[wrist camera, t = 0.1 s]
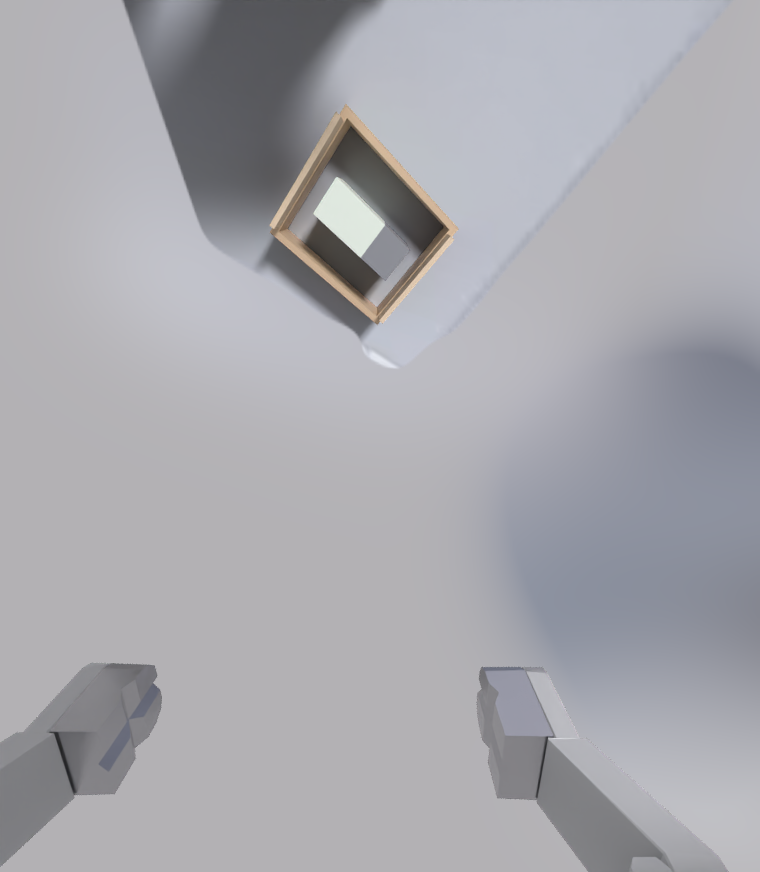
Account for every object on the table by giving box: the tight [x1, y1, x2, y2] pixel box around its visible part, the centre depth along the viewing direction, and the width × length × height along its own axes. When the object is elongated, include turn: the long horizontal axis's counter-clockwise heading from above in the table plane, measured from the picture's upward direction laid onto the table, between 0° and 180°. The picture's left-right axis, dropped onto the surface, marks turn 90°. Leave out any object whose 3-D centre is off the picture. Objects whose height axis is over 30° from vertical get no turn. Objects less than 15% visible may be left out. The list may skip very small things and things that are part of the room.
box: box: [313, 177, 410, 281], centre depth 45 cm, size 4×11×8 cm, turn 49°
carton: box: [270, 104, 458, 324], centre depth 45 cm, size 16×18×8 cm
